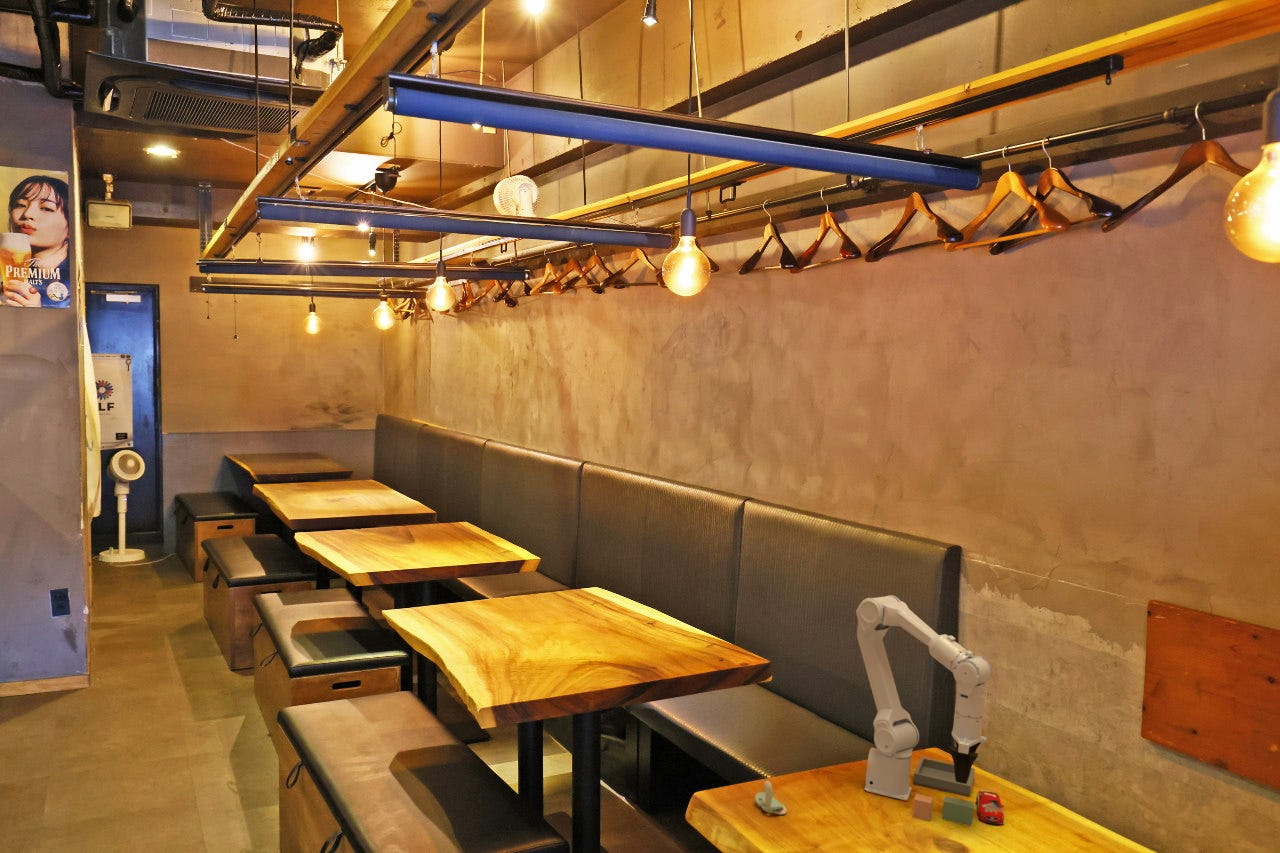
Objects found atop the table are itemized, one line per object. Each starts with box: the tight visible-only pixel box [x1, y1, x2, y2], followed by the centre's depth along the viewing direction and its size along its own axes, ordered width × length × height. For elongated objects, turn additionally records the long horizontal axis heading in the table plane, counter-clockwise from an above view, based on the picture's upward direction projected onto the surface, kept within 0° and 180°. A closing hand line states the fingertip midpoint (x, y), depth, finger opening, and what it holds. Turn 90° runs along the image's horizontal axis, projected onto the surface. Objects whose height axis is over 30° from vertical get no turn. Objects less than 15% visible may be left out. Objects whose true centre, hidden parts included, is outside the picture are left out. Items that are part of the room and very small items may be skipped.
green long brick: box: [941, 795, 975, 827], centre depth 205 cm, size 6×4×4 cm, turn 66°
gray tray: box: [912, 756, 976, 798], centre depth 226 cm, size 13×13×2 cm
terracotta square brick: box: [912, 793, 934, 822], centre depth 205 cm, size 4×4×4 cm
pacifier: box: [754, 780, 788, 816], centre depth 202 cm, size 7×6×6 cm
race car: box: [975, 789, 1005, 825], centre depth 210 cm, size 13×5×4 cm, turn 162°
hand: (962, 776), depth 205 cm, fingers open, 7 cm apart
